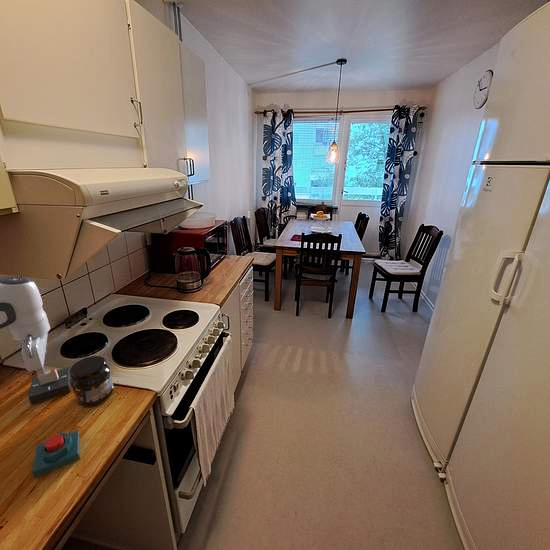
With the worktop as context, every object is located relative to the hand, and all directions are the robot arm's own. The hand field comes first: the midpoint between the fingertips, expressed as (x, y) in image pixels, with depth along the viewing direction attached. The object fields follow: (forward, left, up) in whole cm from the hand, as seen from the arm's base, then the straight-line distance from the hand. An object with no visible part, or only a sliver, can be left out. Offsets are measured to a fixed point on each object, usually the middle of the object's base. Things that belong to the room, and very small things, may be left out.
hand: (42, 364), depth 91 cm
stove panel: (0, -1, -9) cm, 9 cm away
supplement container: (+12, -12, -10) cm, 19 cm away
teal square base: (+3, -30, -9) cm, 31 cm away
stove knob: (0, -1, -6) cm, 6 cm away
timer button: (+3, -30, -6) cm, 30 cm away
